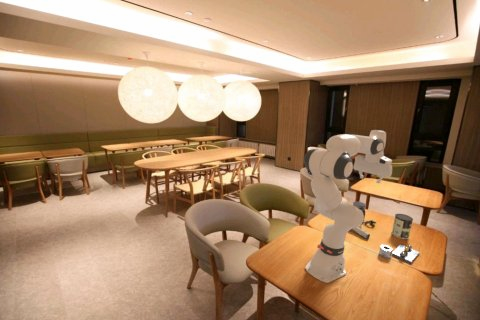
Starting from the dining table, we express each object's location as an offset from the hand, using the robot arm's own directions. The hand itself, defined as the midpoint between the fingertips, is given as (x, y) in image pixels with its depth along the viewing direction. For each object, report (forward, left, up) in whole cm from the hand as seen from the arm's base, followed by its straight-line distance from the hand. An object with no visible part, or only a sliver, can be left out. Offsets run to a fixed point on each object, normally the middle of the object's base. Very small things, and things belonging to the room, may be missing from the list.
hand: (369, 180), depth 138 cm
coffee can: (+39, -12, -45) cm, 61 cm away
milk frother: (+35, +13, -45) cm, 58 cm away
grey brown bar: (+17, +12, -45) cm, 50 cm away
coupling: (+5, -14, -45) cm, 47 cm away
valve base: (+16, -22, -45) cm, 52 cm away
